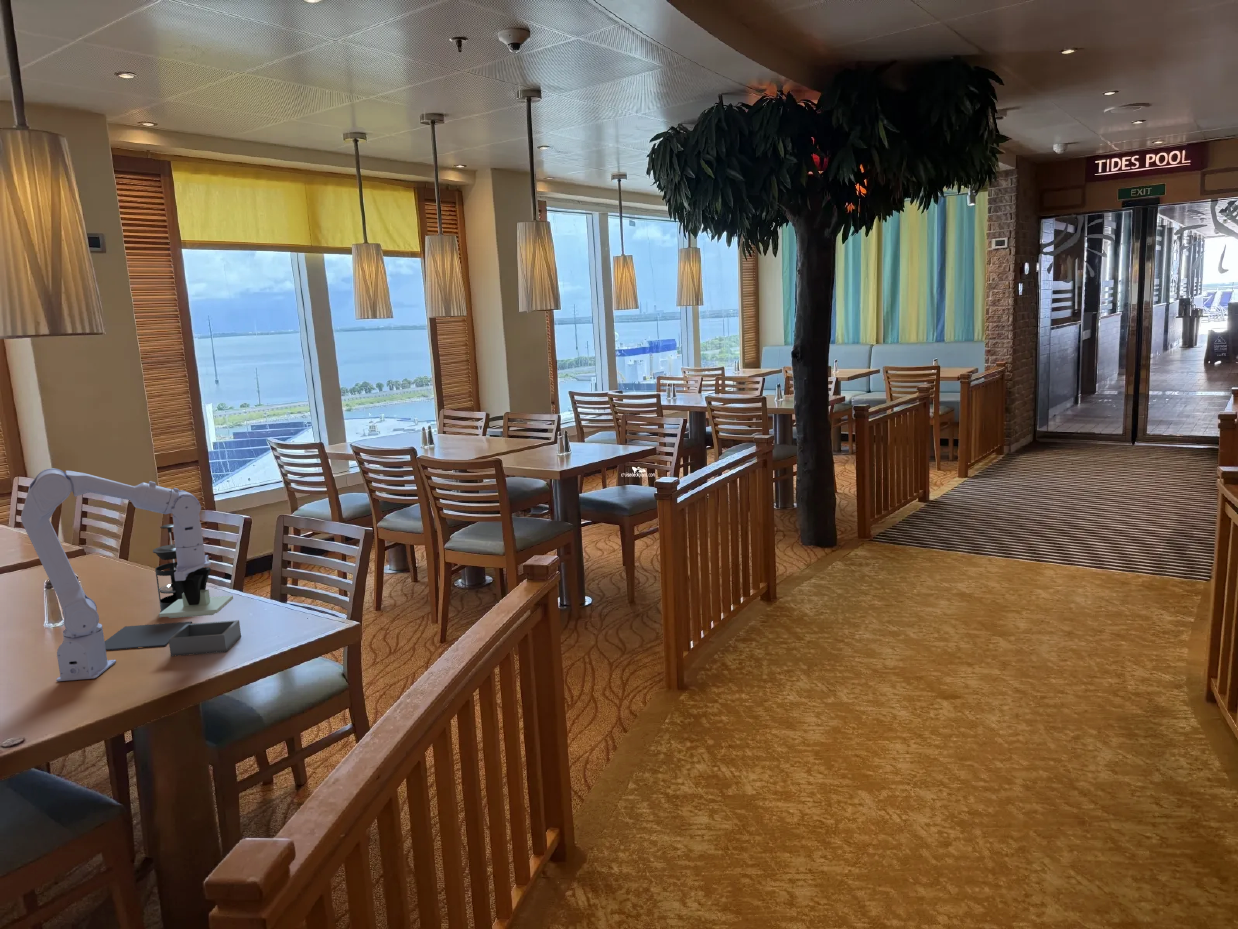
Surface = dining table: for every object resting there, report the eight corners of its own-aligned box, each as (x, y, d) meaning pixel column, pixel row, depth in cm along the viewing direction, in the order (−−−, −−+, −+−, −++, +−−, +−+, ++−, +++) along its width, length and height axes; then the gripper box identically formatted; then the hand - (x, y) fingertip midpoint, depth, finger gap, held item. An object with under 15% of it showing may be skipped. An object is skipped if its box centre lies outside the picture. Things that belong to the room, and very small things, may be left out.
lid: (217, 616, 191) (214, 596, 191) (159, 620, 190) (157, 600, 190) (233, 602, 202) (231, 583, 201) (179, 605, 201) (176, 587, 200)
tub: (226, 652, 192) (224, 635, 192) (170, 656, 191) (168, 639, 191) (241, 636, 202) (239, 620, 202) (188, 640, 201) (186, 624, 200)
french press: (159, 619, 218) (147, 531, 214) (155, 610, 225) (143, 525, 222) (209, 609, 224) (198, 523, 220) (204, 600, 232) (193, 518, 228)
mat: (165, 646, 198) (165, 644, 198) (92, 651, 196) (92, 650, 196) (192, 623, 214) (192, 621, 213) (125, 628, 212) (125, 626, 212)
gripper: (195, 551, 187) (202, 611, 189) (219, 536, 201) (226, 591, 203) (161, 553, 186) (169, 613, 188) (188, 537, 200) (195, 593, 202)
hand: (196, 602), depth 196 cm, fingers closed on lid, 2 cm apart
